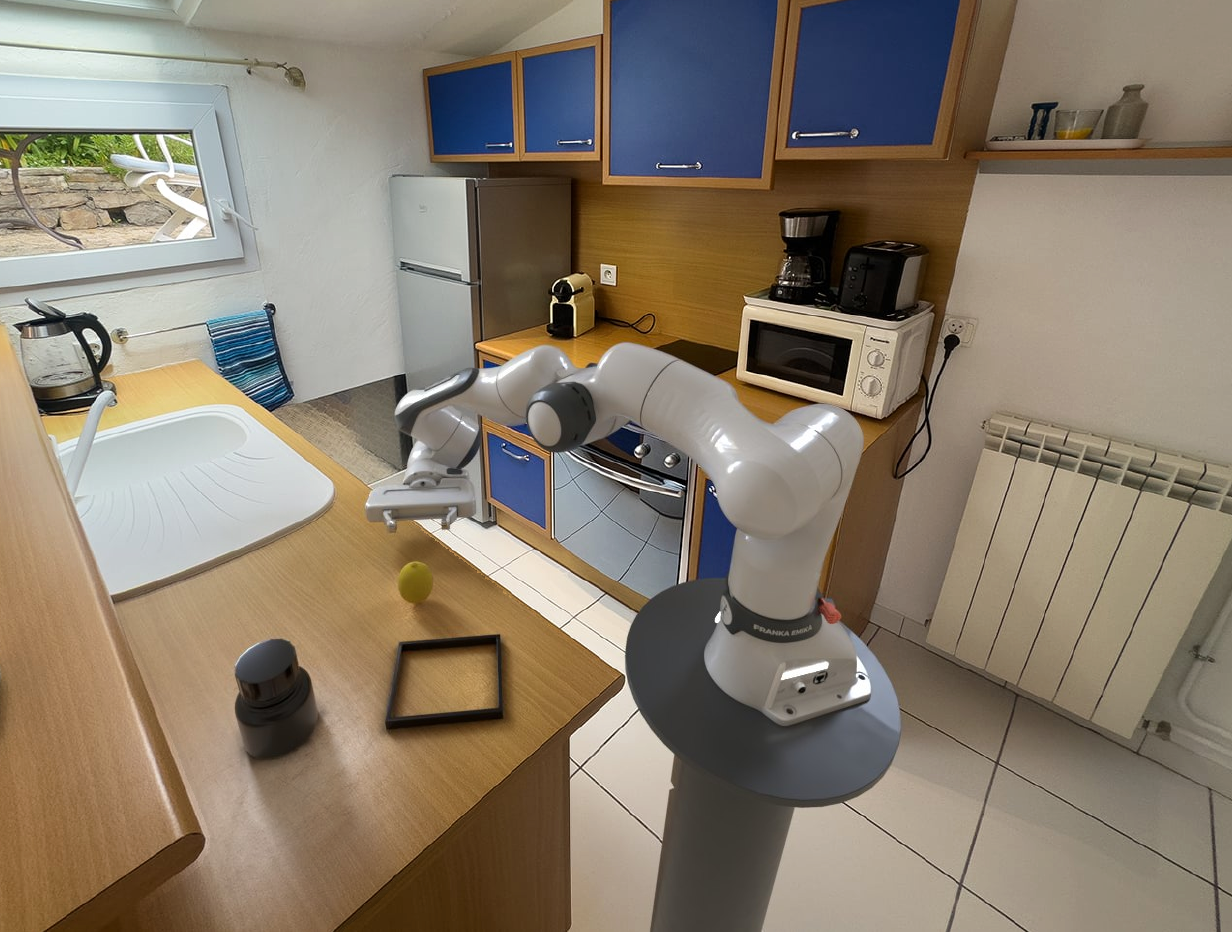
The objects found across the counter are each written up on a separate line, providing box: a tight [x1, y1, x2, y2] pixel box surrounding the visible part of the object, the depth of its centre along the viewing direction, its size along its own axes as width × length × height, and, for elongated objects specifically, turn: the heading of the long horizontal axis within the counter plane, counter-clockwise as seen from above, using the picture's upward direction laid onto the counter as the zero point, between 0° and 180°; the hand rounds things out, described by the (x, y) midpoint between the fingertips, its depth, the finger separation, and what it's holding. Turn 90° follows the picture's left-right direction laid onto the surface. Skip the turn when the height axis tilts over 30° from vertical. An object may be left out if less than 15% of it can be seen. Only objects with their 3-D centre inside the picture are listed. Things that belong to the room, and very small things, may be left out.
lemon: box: [397, 561, 434, 605], centre depth 95 cm, size 6×6×8 cm
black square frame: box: [384, 633, 504, 731], centre depth 82 cm, size 15×13×2 cm
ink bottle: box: [234, 638, 319, 760], centre depth 73 cm, size 10×9×12 cm
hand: (418, 528), depth 102 cm, fingers open, 8 cm apart
